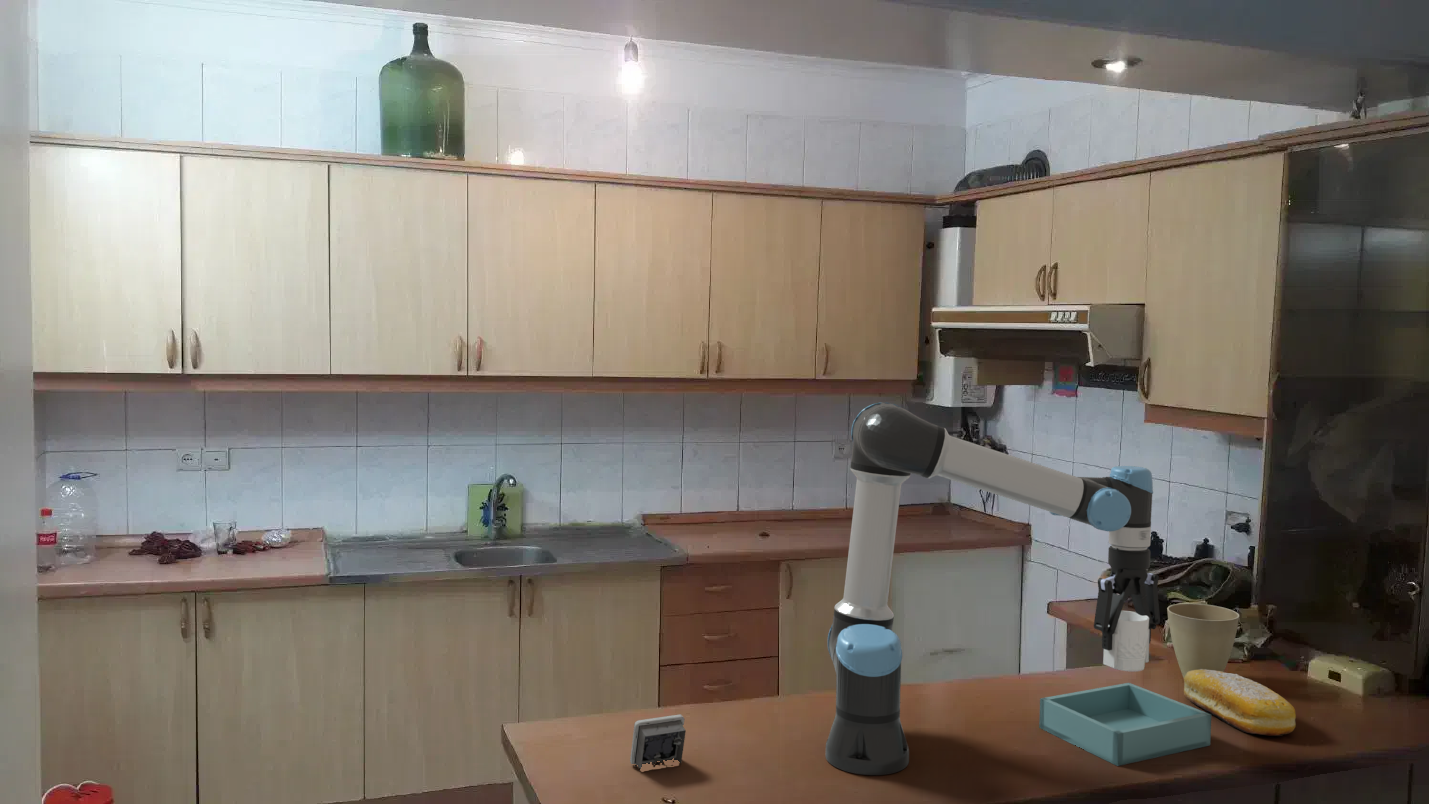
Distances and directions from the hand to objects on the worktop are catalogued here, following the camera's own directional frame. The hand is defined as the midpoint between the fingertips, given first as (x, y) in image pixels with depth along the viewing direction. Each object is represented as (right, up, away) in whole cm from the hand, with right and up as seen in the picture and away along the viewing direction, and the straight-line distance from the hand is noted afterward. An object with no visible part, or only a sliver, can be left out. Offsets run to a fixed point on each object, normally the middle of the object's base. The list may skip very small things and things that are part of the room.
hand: (1125, 662), depth 199 cm
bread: (+28, -15, +13) cm, 34 cm away
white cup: (0, -1, 0) cm, 1 cm away
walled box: (0, -15, +1) cm, 15 cm away
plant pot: (+31, -13, +35) cm, 49 cm away
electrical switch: (-90, -15, -15) cm, 92 cm away
